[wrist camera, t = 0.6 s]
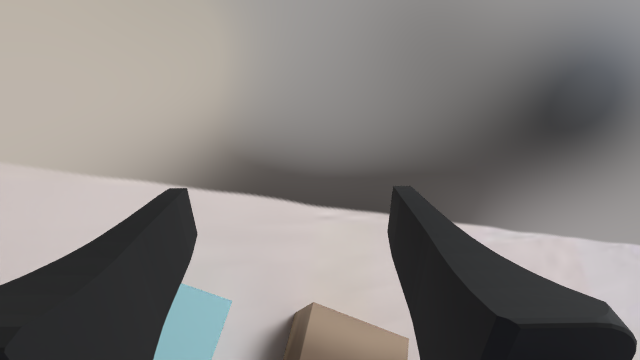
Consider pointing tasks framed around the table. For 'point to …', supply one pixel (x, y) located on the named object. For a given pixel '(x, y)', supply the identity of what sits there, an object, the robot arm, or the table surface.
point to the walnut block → (340, 338)
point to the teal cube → (192, 325)
